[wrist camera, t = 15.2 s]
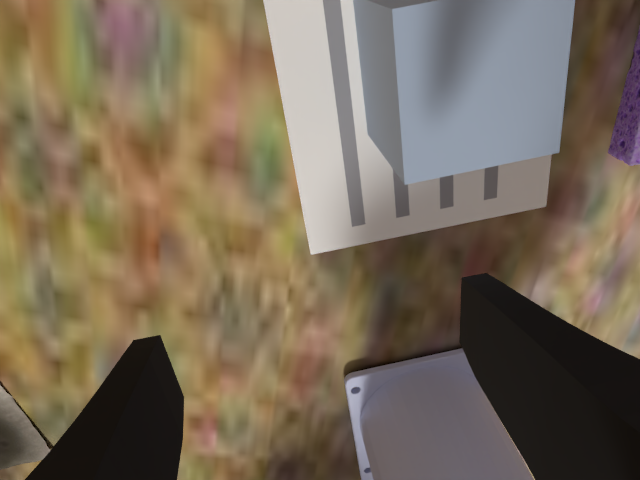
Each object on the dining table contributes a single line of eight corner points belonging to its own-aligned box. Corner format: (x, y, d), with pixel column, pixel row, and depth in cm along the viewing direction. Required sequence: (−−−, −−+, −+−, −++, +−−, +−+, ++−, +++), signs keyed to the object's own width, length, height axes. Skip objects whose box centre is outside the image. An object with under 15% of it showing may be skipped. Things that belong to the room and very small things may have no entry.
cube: (488, 109, 20) (559, 152, 15) (367, 134, 19) (404, 184, 15) (492, -31, 17) (578, -27, 13) (352, -5, 17) (392, 8, 13)
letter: (544, 205, 22) (546, 206, 22) (310, 253, 22) (311, 254, 22) (590, -233, 15) (593, -235, 15) (230, -176, 14) (230, -177, 14)
